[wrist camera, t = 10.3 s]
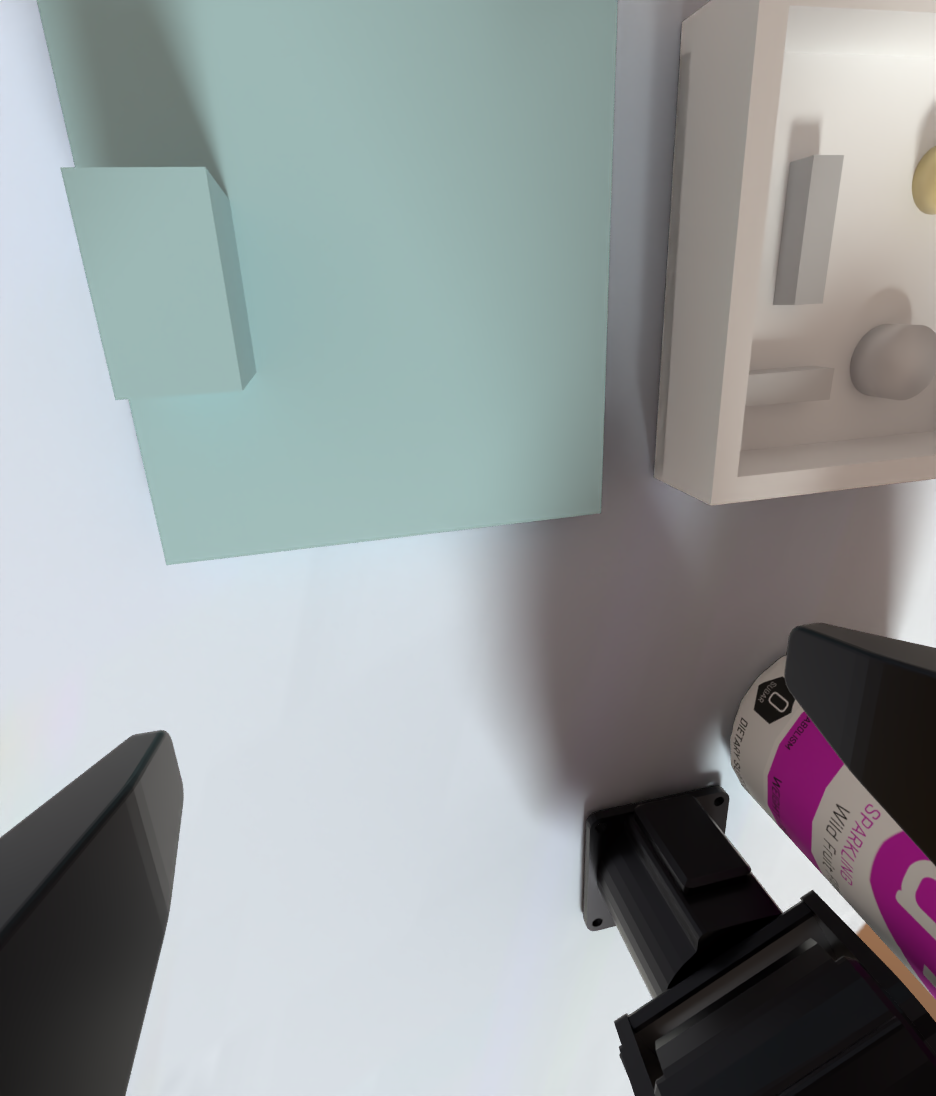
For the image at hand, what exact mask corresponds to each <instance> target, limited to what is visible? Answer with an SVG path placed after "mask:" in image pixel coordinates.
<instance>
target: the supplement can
mask: <svg viewBox="0 0 936 1096" xmlns="http://www.w3.org/2000/svg"><path fill="white" fill-rule="evenodd" d="M786 656H787V655H785V656H783V657H781V658H780V659H779V660H777V661H776V662H775V663H774V664H773V665H772V666H770V667H769V668H768V669H767V670H766V671H765V672H763V673H762V674H761V675H760V676H759V677H758V678H757V679H756V681H755V682H754V683H753V685H752V686H751V688H750V689H749V691H748V692H747V693H746V695H745V696H744V698H743V699H742V701H741V703H740V706H739V709H738V712H737V715H736V718H735V721H734V724H733V731H732V734H731V737H730V745H731V766H732V767H733V769H734V771H735V773H736V775H737V777H738V779H739V781H740V783H741V785H742V786H743V787H744V788H745V789H746V791H747V792H748V793H749V794H750V795H751V796H752V797H753V798H754V799H755V800H756V802H757V803H758V804H759V805H760V806H761V807H762V808H763V809H764V810H765V812H766V813H767V814H768V815H769V816H770V817H771V818H772V819H773V820H774V821H775V823H776V824H777V825H778V826H779V827H780V828H781V829H782V830H783V831H784V833H785V834H786V835H787V836H788V837H789V838H790V839H791V840H792V841H793V842H794V844H795V845H796V846H797V847H798V848H799V849H800V850H801V851H802V852H803V853H804V855H805V856H806V857H807V858H808V859H809V860H810V861H811V862H812V863H813V865H814V866H815V867H816V868H817V869H818V870H819V871H820V872H821V873H822V874H823V876H824V877H825V878H826V879H827V880H828V881H829V882H830V883H831V884H832V886H833V887H834V888H835V889H836V890H837V891H838V892H839V893H840V894H841V895H842V897H843V898H844V899H845V900H846V901H847V902H848V903H849V904H850V905H851V906H852V908H853V909H854V910H855V911H856V912H857V913H858V914H859V915H860V916H861V918H862V919H863V920H864V921H865V922H866V923H867V924H868V925H869V926H870V927H871V928H872V930H873V931H874V932H875V933H876V934H877V935H878V936H879V937H880V938H881V940H882V941H883V942H884V943H885V944H886V945H887V946H888V947H889V948H890V950H891V951H892V952H893V953H894V954H895V955H896V956H897V957H898V958H899V959H900V961H901V962H902V963H903V964H904V965H905V966H906V967H907V968H908V969H909V971H910V972H911V973H912V974H913V975H914V976H915V977H916V978H917V979H918V980H919V981H920V983H921V984H922V985H923V986H924V987H925V988H926V989H927V990H928V991H929V992H930V994H931V995H932V996H933V997H934V998H935V999H936V866H935V865H934V864H933V863H932V862H931V861H930V860H929V859H928V858H927V857H926V855H925V854H924V853H923V852H922V851H921V850H920V849H919V848H918V847H917V845H916V844H915V843H914V842H913V841H912V840H911V839H910V838H909V837H908V835H907V834H906V833H905V832H904V831H903V830H902V829H901V828H900V827H899V825H898V824H897V823H896V822H895V821H894V820H893V819H892V818H891V817H890V815H889V814H888V813H887V812H886V811H885V810H884V809H883V808H882V807H881V806H880V804H879V803H878V802H877V801H876V800H875V799H874V798H873V797H872V796H871V794H870V793H869V792H868V791H867V790H866V789H865V788H864V787H863V786H862V784H861V783H860V782H859V781H858V780H857V779H856V778H855V776H854V775H853V774H852V773H851V772H850V771H849V769H848V768H847V767H846V766H845V764H844V763H843V762H842V760H841V759H840V758H839V757H838V755H837V754H836V753H835V751H834V750H833V749H832V747H831V746H830V745H829V743H828V742H827V741H826V739H825V738H824V737H823V735H822V734H821V733H820V731H819V730H818V729H817V727H816V726H815V725H814V723H813V722H812V721H811V719H810V718H809V717H808V715H807V714H806V713H805V711H804V710H803V709H802V707H801V706H800V705H799V703H798V702H797V701H796V699H795V698H794V697H793V695H792V694H791V693H790V691H789V690H788V688H787V685H786V682H785V677H784V671H785V664H786Z"/></svg>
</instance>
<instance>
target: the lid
mask: <svg viewBox="0 0 936 1096" xmlns="http://www.w3.org/2000/svg"><path fill="white" fill-rule="evenodd" d="M37 4H38V8H39V12H40V17H41V21H42V25H43V30H44V34H45V38H46V43H47V47H48V51H49V56H50V60H51V65H52V69H53V73H54V78H55V82H56V86H57V91H58V95H59V99H60V104H61V108H62V112H63V117H64V121H65V125H66V130H67V134H68V138H69V143H70V147H71V152H72V156H73V160H74V165H75V167H70V168H61V172H62V177H63V181H64V185H65V189H66V193H67V198H68V202H69V206H70V210H71V214H72V219H73V223H74V227H75V231H76V236H77V240H78V244H79V248H80V252H81V257H82V261H83V265H84V269H85V274H86V278H87V282H88V286H89V290H90V295H91V299H92V303H93V307H94V312H95V316H96V320H97V324H98V328H99V333H100V337H101V341H102V345H103V349H104V354H105V358H106V362H107V366H108V371H109V375H110V379H111V383H112V387H113V392H114V396H115V400H123V399H128V400H129V404H130V408H131V413H132V417H133V421H134V426H135V430H136V434H137V439H138V443H139V447H140V452H141V456H142V460H143V465H144V469H145V474H146V478H147V482H148V487H149V491H150V495H151V500H152V504H153V508H154V513H155V517H156V521H157V526H158V530H159V534H160V539H161V543H162V547H163V552H164V556H165V561H166V565H171V564H180V563H188V562H197V561H205V560H213V559H222V558H230V557H239V556H247V555H255V554H264V553H272V552H281V551H289V550H297V549H306V548H314V547H323V546H331V545H339V544H348V543H356V542H365V541H373V540H381V539H390V538H398V537H407V536H415V535H423V534H432V533H440V532H449V531H457V530H465V529H474V528H482V527H491V526H499V525H507V524H516V523H524V522H533V521H541V520H549V519H558V518H566V517H575V516H583V515H591V514H600V513H601V502H602V471H603V440H604V409H605V378H606V347H607V315H608V284H609V253H610V222H611V191H612V160H613V129H614V98H615V67H616V35H617V4H618V0H37Z"/></svg>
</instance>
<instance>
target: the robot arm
mask: <svg viewBox="0 0 936 1096" xmlns="http://www.w3.org/2000/svg"><path fill="white" fill-rule="evenodd" d="M784 677H785V682H786V685H787V688H788V690H789V691H790V693H791V694H792V695H793V697H794V698H795V699H796V701H797V702H798V703H799V705H800V706H801V707H802V709H803V710H804V711H805V713H806V714H807V715H808V717H809V718H810V719H811V721H812V722H813V723H814V725H815V726H816V727H817V729H818V730H819V731H820V733H821V734H822V735H823V737H824V738H825V739H826V741H827V742H828V743H829V745H830V746H831V747H832V749H833V750H834V751H835V753H836V754H837V755H838V757H839V758H840V759H841V760H842V762H843V763H844V764H845V766H846V767H847V768H848V769H849V771H850V772H851V773H852V774H853V775H854V776H855V778H856V779H857V780H858V781H859V782H860V783H861V784H862V786H863V787H864V788H865V789H866V790H867V791H868V792H869V793H870V794H871V796H872V797H873V798H874V799H875V800H876V801H877V802H878V803H879V804H880V806H881V807H882V808H883V809H884V810H885V811H886V812H887V813H888V814H889V815H890V817H891V818H892V819H893V820H894V821H895V822H896V823H897V824H898V825H899V827H900V828H901V829H902V830H903V831H904V832H905V833H906V834H907V835H908V837H909V838H910V839H911V840H912V841H913V842H914V843H915V844H916V845H917V847H918V848H919V849H920V850H921V851H922V852H923V853H924V854H925V855H926V857H927V858H928V859H929V860H930V861H931V862H932V863H933V864H934V865H935V866H936V648H933V647H928V646H924V645H919V644H915V643H910V642H906V641H901V640H897V639H892V638H887V637H883V636H878V635H874V634H869V633H865V632H860V631H856V630H851V629H847V628H842V627H838V626H833V625H828V624H824V623H813V624H807V625H801V626H797V627H795V628H794V629H793V630H792V631H791V633H790V635H789V641H788V648H787V656H786V664H785V671H784ZM728 805H729V795H728V794H727V793H726V792H725V791H724V789H723V788H722V787H720V786H713V787H708V788H704V789H699V790H694V791H690V792H685V793H680V794H676V795H671V796H667V797H662V798H657V799H653V800H648V801H643V802H639V803H634V804H629V805H625V806H620V807H616V808H611V809H606V810H602V811H597V812H595V813H593V814H591V815H590V816H589V817H588V819H587V822H586V845H585V879H584V913H583V918H584V921H585V924H586V926H587V928H588V929H589V930H591V931H597V930H601V929H605V928H609V927H613V926H617V928H618V930H619V932H620V934H621V936H622V938H623V940H624V942H625V944H626V946H627V948H628V950H629V952H630V954H631V956H632V958H633V960H634V962H635V964H636V966H637V968H638V970H639V972H640V974H641V976H642V978H643V980H644V982H645V984H646V986H647V988H648V990H649V992H650V994H651V996H652V998H653V999H652V1000H651V1001H649V1002H648V1003H646V1004H645V1005H643V1006H642V1007H640V1008H639V1009H637V1010H636V1011H634V1012H633V1013H631V1014H630V1015H628V1014H627V1013H626V1014H624V1015H623V1016H621V1017H620V1018H618V1019H617V1020H615V1021H614V1023H615V1026H616V1029H617V1032H618V1035H619V1038H620V1041H621V1044H622V1045H621V1046H619V1049H620V1052H621V1053H620V1058H621V1060H622V1063H623V1065H624V1067H625V1070H626V1072H627V1075H628V1077H629V1080H630V1083H631V1086H632V1089H633V1092H634V1095H635V1096H936V1022H935V1021H934V1020H933V1018H932V1017H931V1016H930V1014H929V1013H928V1012H927V1011H926V1010H925V1008H924V1007H923V1006H922V1005H921V1004H920V1002H919V1001H918V1000H917V999H916V998H915V996H914V995H913V994H912V993H911V992H910V991H909V989H908V988H907V987H906V986H905V985H904V984H903V983H902V982H901V980H900V979H899V978H898V977H897V976H896V975H895V974H894V973H893V972H892V971H891V970H890V969H889V968H888V967H887V966H886V965H885V964H884V963H883V961H881V959H880V958H879V957H878V956H877V955H876V954H875V953H874V952H873V951H872V950H871V949H870V948H869V947H868V946H867V945H866V944H865V943H864V942H863V941H862V940H861V939H860V938H859V937H858V936H857V935H856V934H855V933H854V932H853V931H852V930H851V929H850V928H849V927H848V926H847V925H846V924H845V923H844V921H843V920H842V919H841V918H840V917H839V916H838V915H837V914H836V913H835V912H834V911H833V910H832V909H831V908H830V907H829V906H828V905H827V904H826V903H825V902H824V901H823V900H822V899H821V898H820V897H819V896H818V895H817V894H816V893H815V892H814V891H813V890H811V891H810V892H808V893H807V894H805V895H804V896H802V897H801V898H800V899H801V901H800V902H799V903H797V904H796V905H794V906H793V907H791V908H790V909H788V910H787V911H785V912H784V913H783V912H782V911H781V909H780V908H779V907H778V905H777V904H776V903H775V902H774V900H773V899H772V898H771V896H770V895H769V894H768V893H767V891H766V890H765V889H764V888H763V886H762V885H761V884H760V882H759V881H758V880H757V879H756V877H755V876H754V875H753V874H752V872H751V868H750V866H749V865H748V863H747V862H746V861H745V860H744V858H743V857H742V856H741V854H740V853H739V852H738V851H737V849H736V848H735V847H734V846H733V844H732V843H731V842H730V841H729V839H728V838H727V837H726V835H725V828H726V820H727V812H728ZM182 808H183V783H182V779H181V775H180V771H179V767H178V763H177V759H176V755H175V751H174V747H173V743H172V739H171V737H170V735H169V734H168V733H167V732H166V731H164V730H159V731H153V732H147V733H141V734H135V735H132V736H131V737H129V738H128V739H127V740H125V741H124V742H123V743H121V744H120V745H119V746H118V747H116V748H115V749H114V750H112V751H111V752H110V753H109V754H107V755H106V756H105V757H103V758H102V759H101V760H100V761H98V762H97V763H96V764H94V765H93V766H92V767H91V768H89V769H88V770H87V771H85V772H84V773H83V774H82V775H80V776H79V777H78V778H76V779H75V780H74V781H73V782H71V783H70V784H69V785H67V786H66V787H65V788H64V789H62V790H61V791H60V792H58V793H57V794H56V795H55V796H53V797H52V798H51V799H49V800H48V801H47V802H46V803H44V804H43V805H42V806H40V807H39V808H38V809H37V810H35V811H34V812H33V813H31V814H30V815H29V816H28V817H26V818H25V819H24V820H22V821H21V822H20V823H19V824H17V825H16V826H15V827H13V828H12V829H11V830H10V831H8V832H7V833H6V834H4V835H3V836H2V837H1V838H0V1096H125V1095H126V1091H127V1087H128V1083H129V1079H130V1075H131V1070H132V1066H133V1062H134V1058H135V1054H136V1050H137V1046H138V1042H139V1038H140V1034H141V1030H142V1025H143V1021H144V1017H145V1013H146V1009H147V1005H148V1001H149V997H150V993H151V989H152V985H153V981H154V976H155V972H156V968H157V964H158V960H159V956H160V952H161V948H162V944H163V940H164V935H165V931H166V926H167V922H168V917H169V911H170V904H171V897H172V889H173V881H174V873H175V865H176V857H177V849H178V841H179V833H180V824H181V816H182ZM600 823H601V824H600ZM598 824H599V825H598Z"/></svg>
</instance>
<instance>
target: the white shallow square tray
mask: <svg viewBox="0 0 936 1096" xmlns="http://www.w3.org/2000/svg"><path fill="white" fill-rule="evenodd" d="M654 478H656V479H658V480H660V481H662V482H664V483H666V484H668V485H670V486H672V487H674V488H676V489H678V490H680V491H682V492H684V493H686V494H688V495H690V496H692V497H694V498H696V499H698V500H700V501H702V502H704V503H706V504H708V505H710V506H713V505H721V504H730V503H738V502H746V501H754V500H763V499H771V498H779V497H788V496H796V495H804V494H813V493H821V492H829V491H837V490H846V489H854V488H862V487H871V486H879V485H887V484H896V483H904V482H912V481H921V480H929V479H936V0H711V1H709V2H708V3H707V4H705V5H704V6H703V7H701V8H700V9H699V10H697V11H696V12H695V13H694V14H692V15H691V16H690V17H688V18H687V19H686V20H684V21H683V22H682V32H681V48H680V64H679V80H678V96H677V112H676V128H675V144H674V160H673V176H672V192H671V208H670V224H669V240H668V256H667V273H666V289H665V305H664V321H663V337H662V353H661V369H660V385H659V401H658V417H657V433H656V449H655V465H654Z"/></svg>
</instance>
